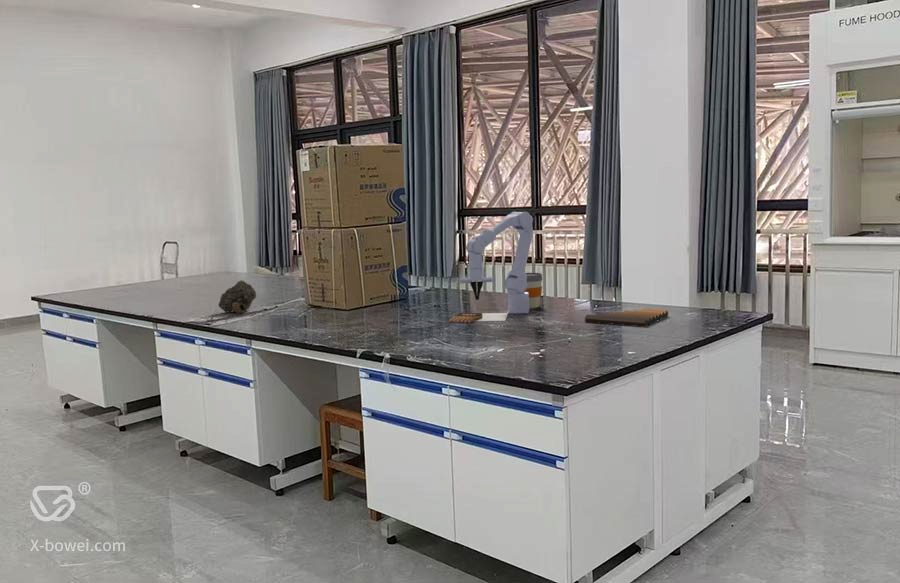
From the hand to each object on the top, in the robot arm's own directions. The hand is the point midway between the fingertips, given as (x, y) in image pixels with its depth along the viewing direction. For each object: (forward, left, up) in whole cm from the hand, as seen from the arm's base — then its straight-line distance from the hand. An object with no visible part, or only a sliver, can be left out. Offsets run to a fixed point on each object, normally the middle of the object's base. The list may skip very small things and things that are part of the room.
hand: (477, 299), depth 315 cm
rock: (+120, -26, -8) cm, 123 cm away
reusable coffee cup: (-21, -27, -8) cm, 35 cm away
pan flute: (-61, +9, -9) cm, 63 cm away
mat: (-6, 0, -8) cm, 10 cm away
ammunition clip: (+3, +1, -6) cm, 7 cm away
